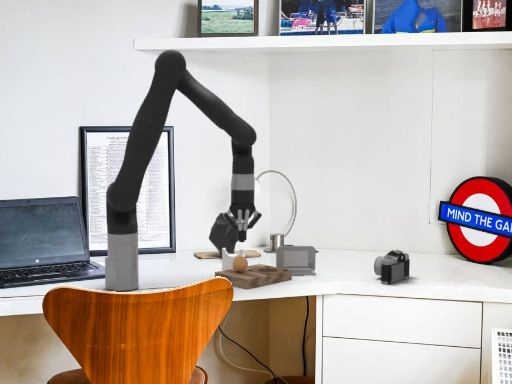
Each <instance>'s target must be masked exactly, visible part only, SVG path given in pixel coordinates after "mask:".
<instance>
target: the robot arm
mask: <svg viewBox="0 0 512 384" xmlns="http://www.w3.org/2000/svg"><path fill="white" fill-rule="evenodd" d="M153 68H154V73H153V76H152V81H151V83H150V87H149V89H148V92H147V94H146V96H145V97H144V99H143V100H142V103H141V104H140V107H139V108H138V111H137V113H136V115H135V117H134V119H133V122H132V125H131V127H130V131H129V133H128V137H127V141H126V145H125V150H124V155H123V161H122V163H121V167H120V168H119V171H118V174H117V175H116V177H115V179H114V181H112V182H111V183H110V184H109V185H108V187H107V188H106V189H107V190H106V193H105V208H106V210H105V211H106V212H105V213H106V214H105V215H106V216H105V217H106V227H107V228H106V230H107V232H106V233H107V234H106V236H107V239H106V240H107V241H106V242H107V256H106V257H105V258H104V268H105V269H104V271H105V272H104V275H105V278H104V279H105V281H104V282H105V286H104V287H105V289H106V290H107V289H108V290H111V291H114V292H121V291H124V292H125V291H126V292H127V291H133V290H135V289H138V288H139V285H140V284H139V282H140V281H139V280H140V279H139V224H138V216H137V215H138V214H137V204H138V202H139V197H140V193H141V188H142V186H143V181H144V178H145V175H146V171H147V170H148V167H149V165H150V163H151V161H152V159H153V156H154V154H155V151H156V150H157V147H158V145H159V142H160V140H161V137H162V134H163V131H164V128H165V126H166V125H165V124H166V121H167V119H168V116H169V111H170V107H171V104H172V100H173V97H174V95H175V93H176V90H177V91H178V92H179V93H181V94H182V95H183V96H184V97H186V98H187V99H188V100H189V101H190V102H191V103H192V104H193V105H194V106H195V107H196V108H197V109H198V110H199V111H200V112H201V113H203V115H204V116H205V117H206V118H208V119H209V120H210V122H212V124H214V125H215V126H216V127H217V128H218V129H220V130H222V131H224V132H225V133H226V134H227V135H228V136H229V137H230V138H231V139H230V142H231V145H230V146H231V154H232V163H231V165H232V169H231V181H230V205H229V207H228V210H227V211H225V212H222V213H223V216H224V217H225V219H226V220H227V221H228V223H229V224H230V225H231V227H232V228H234V229H237V240H238V242H239V243H245V242H246V240H247V239H248V238H247V233H248V230H250V229H253V228H254V227H255V225H256V224H257V223H258V221H259V220H260V219H261V218H262V215H263V214H262V213H261V212H259V211H258V210H257V208H256V205H255V192H256V191H255V187H256V186H255V184H256V179H255V159H254V156H253V146H254V145H255V144H256V141H257V137H258V136H257V132H256V130H255V128H253V127H252V126H251V125H250V123H248V122H247V121H246V120H245V119H243V118H242V117H241V116H239V115H238V114H237V113H236V112H234V110H233V109H232V108H231V107H230V106H229V105H228V104H227V103H226V102H224V100H222V98H220V97H219V96H218V95H217V94H215V93H213V92H212V91H211V90H210V89H208V88H207V87H205V85H203V84H201V83H200V82H199V81H198V80H197V79H196V78H195V77H194V76H193V75H192V74H191V73H190V71H189V70H188V69H187V61H186V58H185V56H184V54H182V53H181V52H180V51H179V50H176V49H167V50H164V51H163V52H161V53H160V54H159V55H158V56H157V58H156V59H155V62H154V67H153ZM231 216H234V218H235V219H236V223H237V225H235V224H234V222H233V221H232V220H231V218H230V217H231ZM252 216H253V217H252ZM251 217H252V219H251V220H250V221H249V219H250V218H251Z"/></svg>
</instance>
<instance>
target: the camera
mask: <svg viewBox="0 0 512 384" xmlns="http://www.w3.org/2000/svg"><path fill="white" fill-rule="evenodd" d="M410 262H411V261H410V254H409V253H405V252H404V251H402V250H400V249H395V250H394V249H392V250H390V251H389V252H387V253H386V254H385V255H384V256H382V255H380V256H377V257H376V259H375V261H374V264H373V270H374V273H375V275H376V276H380V283H381V284H386V285H390V284H394V283H397V282H399V281H403V280H407V279H409V278H410V266H411V265H410V264H411V263H410Z"/></svg>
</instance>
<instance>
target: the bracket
mask: <svg viewBox="0 0 512 384" xmlns="http://www.w3.org/2000/svg"><path fill="white" fill-rule="evenodd" d="M238 251H239V252H238V253H234V254H228V253H227V251H226V248H223V249H222V257H221V260H222V261H221V262H222V263H221V271H224V270H229V269H234V268H233V265H232V263H233V260H234V259H235V258H236V257H238V256H243V257H245V258H246V254H245V253H244V247H240V248H239V250H238Z"/></svg>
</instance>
